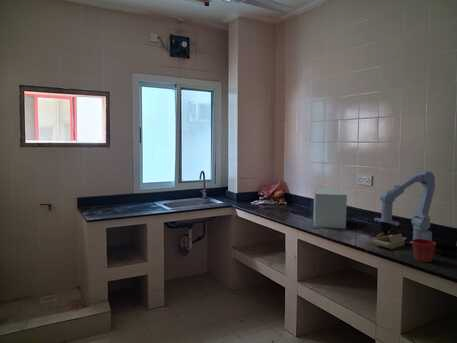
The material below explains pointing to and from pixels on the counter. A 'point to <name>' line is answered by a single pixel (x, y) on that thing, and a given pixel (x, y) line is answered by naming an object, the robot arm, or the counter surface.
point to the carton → (388, 242)
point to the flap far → (381, 235)
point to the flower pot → (423, 249)
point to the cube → (330, 208)
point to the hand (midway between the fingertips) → (385, 235)
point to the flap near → (396, 238)
